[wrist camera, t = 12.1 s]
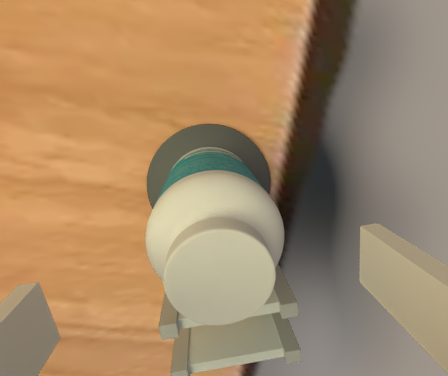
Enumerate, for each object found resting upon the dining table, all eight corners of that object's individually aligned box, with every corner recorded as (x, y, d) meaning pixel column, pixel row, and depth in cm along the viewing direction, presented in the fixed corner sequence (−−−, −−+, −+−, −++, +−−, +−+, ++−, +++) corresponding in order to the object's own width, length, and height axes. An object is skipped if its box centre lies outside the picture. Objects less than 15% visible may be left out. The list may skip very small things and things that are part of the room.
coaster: (161, 249, 25) (160, 251, 25) (134, 133, 22) (133, 134, 22) (273, 231, 26) (274, 232, 26) (263, 115, 23) (264, 115, 22)
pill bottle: (151, 171, 23) (86, 250, 10) (227, 129, 22) (261, 156, 9) (195, 239, 25) (187, 376, 12) (264, 202, 25) (334, 304, 12)
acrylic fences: (178, 333, 28) (173, 384, 23) (167, 282, 27) (158, 326, 21) (282, 314, 29) (301, 361, 24) (278, 264, 27) (297, 302, 22)
